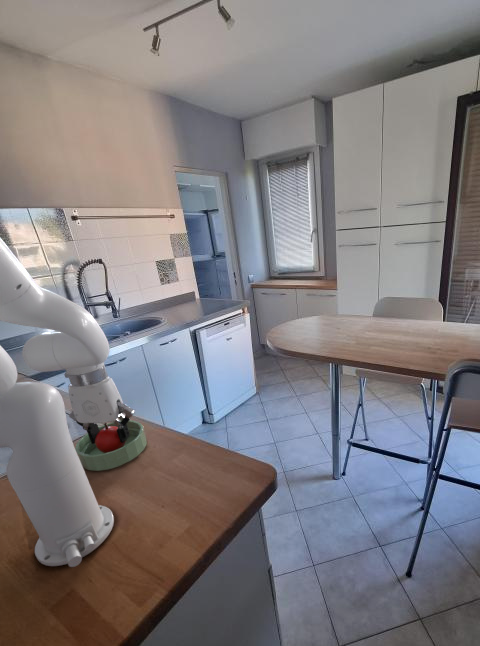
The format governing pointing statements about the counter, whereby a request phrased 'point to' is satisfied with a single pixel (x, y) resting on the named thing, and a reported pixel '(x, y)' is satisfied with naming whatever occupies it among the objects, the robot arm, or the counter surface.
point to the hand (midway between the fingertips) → (110, 439)
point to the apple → (108, 439)
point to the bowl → (104, 461)
